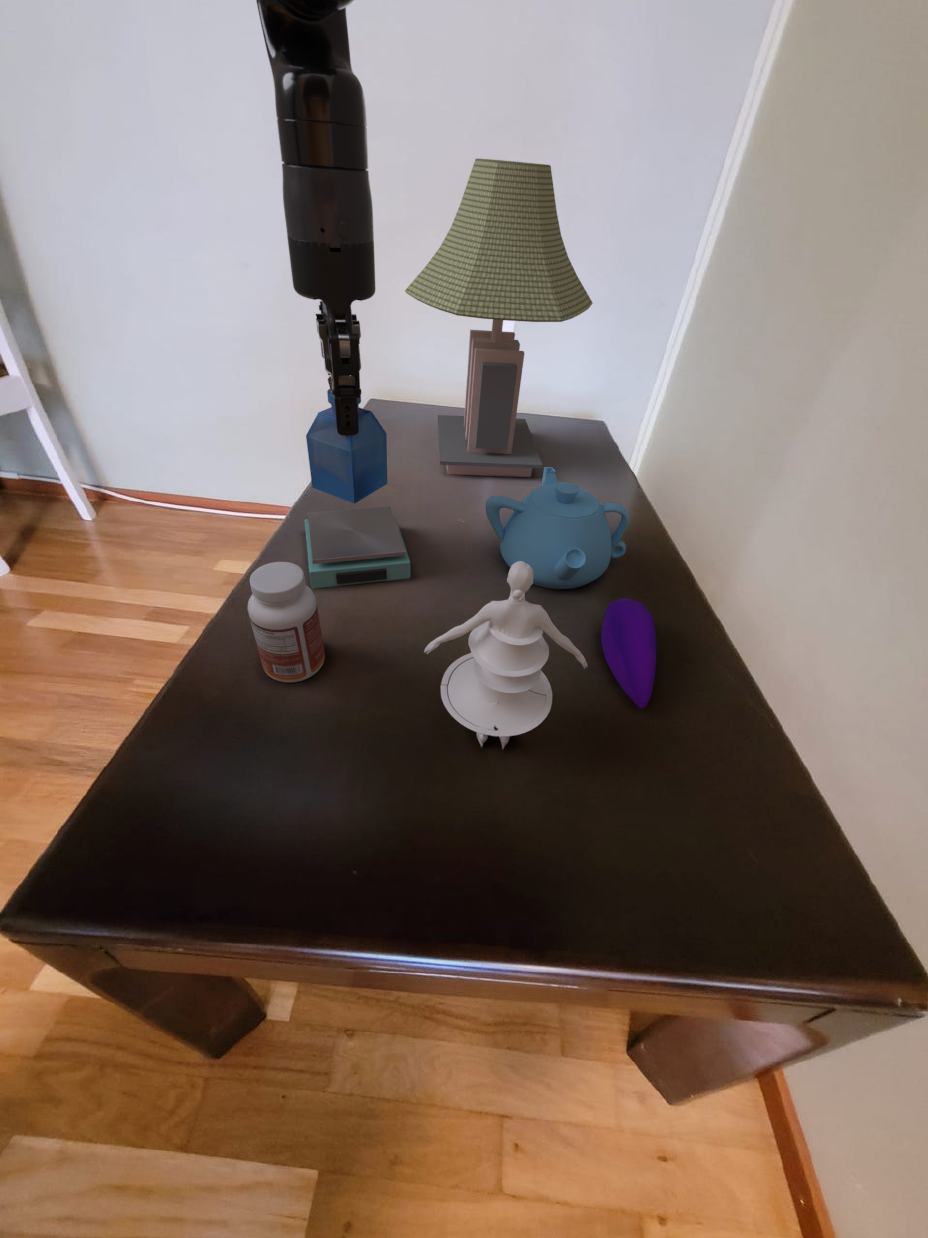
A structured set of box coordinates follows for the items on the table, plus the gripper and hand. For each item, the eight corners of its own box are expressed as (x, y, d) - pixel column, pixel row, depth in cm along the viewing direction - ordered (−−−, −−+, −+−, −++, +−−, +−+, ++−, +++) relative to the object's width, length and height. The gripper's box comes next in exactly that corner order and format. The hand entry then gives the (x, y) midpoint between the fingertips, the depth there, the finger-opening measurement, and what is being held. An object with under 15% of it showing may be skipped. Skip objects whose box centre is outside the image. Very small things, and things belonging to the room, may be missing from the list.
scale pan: (312, 564, 63) (312, 560, 63) (307, 516, 71) (307, 512, 70) (405, 555, 66) (405, 551, 65) (391, 510, 73) (390, 506, 73)
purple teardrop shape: (626, 691, 50) (604, 581, 60) (612, 720, 54) (593, 611, 64) (677, 695, 50) (646, 584, 60) (660, 723, 54) (633, 614, 64)
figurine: (559, 701, 54) (607, 528, 41) (567, 786, 47) (629, 609, 33) (428, 689, 54) (434, 512, 41) (415, 772, 47) (418, 590, 33)
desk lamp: (407, 423, 105) (406, 151, 79) (549, 429, 107) (595, 167, 81) (403, 485, 86) (401, 152, 59) (577, 491, 88) (649, 174, 62)
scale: (311, 590, 64) (308, 569, 62) (306, 535, 73) (303, 514, 71) (411, 580, 67) (411, 559, 65) (394, 528, 76) (394, 508, 74)
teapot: (464, 566, 70) (471, 487, 63) (537, 518, 81) (550, 446, 73) (564, 621, 63) (585, 539, 56) (630, 561, 74) (655, 486, 66)
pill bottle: (305, 633, 59) (290, 548, 51) (337, 665, 55) (326, 578, 48) (251, 660, 55) (227, 572, 48) (282, 695, 52) (262, 607, 45)
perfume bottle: (387, 483, 65) (385, 379, 57) (354, 503, 61) (347, 394, 53) (346, 468, 67) (339, 366, 59) (312, 487, 63) (299, 379, 55)
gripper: (284, 221, 52) (306, 399, 63) (288, 242, 42) (313, 451, 53) (363, 225, 54) (370, 398, 65) (385, 247, 43) (389, 448, 54)
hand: (345, 421), depth 59 cm, fingers closed on perfume bottle, 5 cm apart
